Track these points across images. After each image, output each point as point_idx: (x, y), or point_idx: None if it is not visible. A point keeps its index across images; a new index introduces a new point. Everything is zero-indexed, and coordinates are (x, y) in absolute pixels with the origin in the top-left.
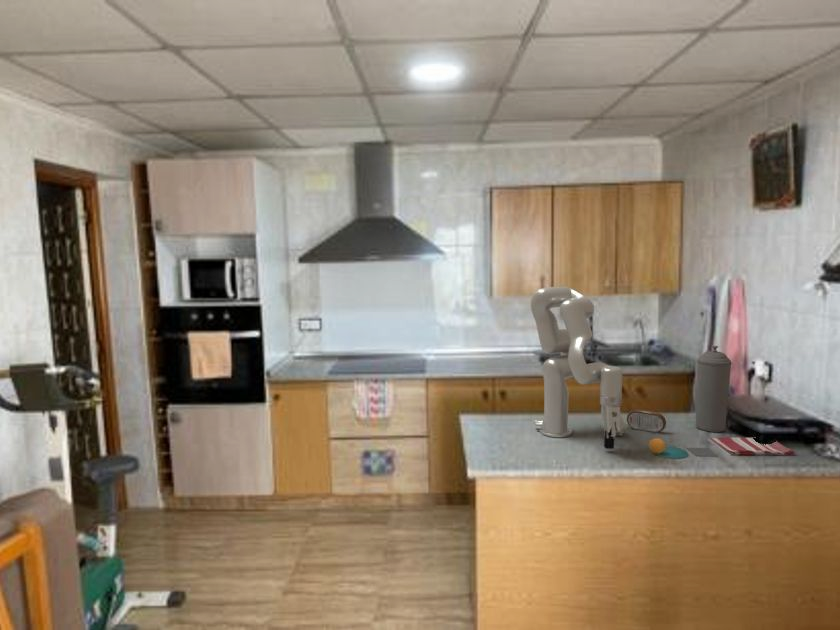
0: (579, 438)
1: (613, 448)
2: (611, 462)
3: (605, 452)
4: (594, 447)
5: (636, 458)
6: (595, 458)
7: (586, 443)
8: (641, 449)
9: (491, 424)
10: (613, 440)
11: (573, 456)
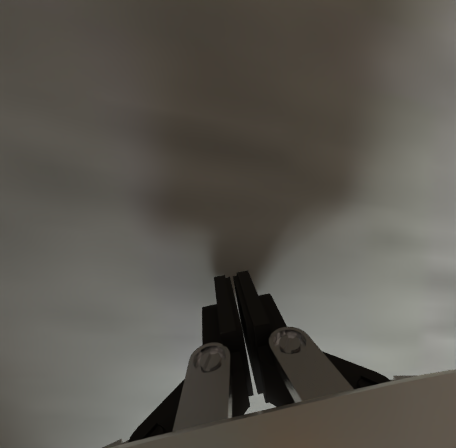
0: (15, 442)
1: (248, 272)
2: (407, 281)
3: None
4: (168, 362)
5: (339, 108)
6: (350, 356)
7: (104, 403)
8: (117, 9)
9: None
10: (263, 314)
11: None
